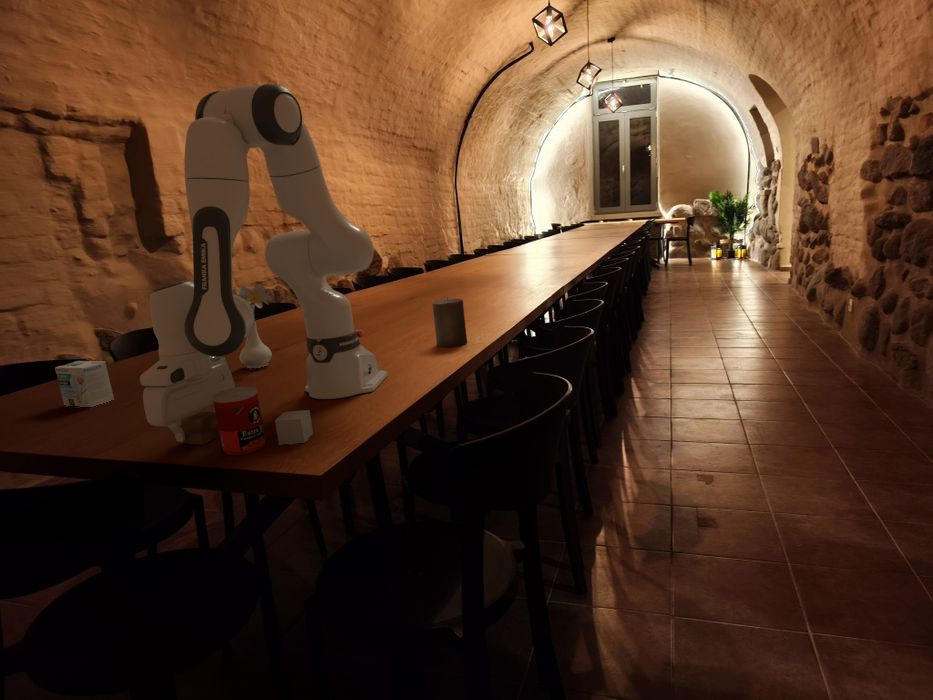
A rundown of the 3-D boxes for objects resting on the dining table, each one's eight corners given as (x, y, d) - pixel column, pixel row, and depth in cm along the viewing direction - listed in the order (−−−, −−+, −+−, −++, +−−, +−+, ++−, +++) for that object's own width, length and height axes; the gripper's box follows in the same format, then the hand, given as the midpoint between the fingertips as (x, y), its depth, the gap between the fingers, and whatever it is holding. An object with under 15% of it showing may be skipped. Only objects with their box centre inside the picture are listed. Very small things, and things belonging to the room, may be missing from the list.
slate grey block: (288, 435, 115) (284, 411, 114) (313, 433, 115) (309, 410, 113) (279, 445, 110) (274, 420, 109) (304, 443, 110) (300, 418, 109)
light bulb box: (63, 407, 151) (53, 367, 149) (88, 398, 157) (78, 360, 155) (91, 408, 147) (81, 367, 145) (115, 400, 153) (106, 360, 151)
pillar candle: (472, 343, 182) (468, 295, 179) (445, 348, 177) (440, 300, 174) (457, 339, 190) (453, 293, 187) (431, 344, 185) (426, 298, 182)
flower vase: (242, 362, 185) (227, 283, 179) (293, 360, 180) (280, 280, 174) (215, 373, 173) (198, 289, 167) (269, 372, 168) (254, 286, 162)
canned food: (247, 457, 105) (236, 400, 103) (213, 454, 108) (202, 398, 106) (275, 441, 112) (265, 387, 110) (242, 438, 115) (232, 385, 113)
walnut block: (201, 434, 120) (196, 411, 119) (220, 435, 119) (216, 412, 118) (182, 443, 116) (177, 420, 115) (203, 444, 114) (198, 420, 113)
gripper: (211, 352, 124) (223, 413, 127) (131, 380, 105) (147, 450, 109) (235, 351, 122) (247, 413, 125) (158, 380, 103) (174, 452, 107)
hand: (200, 431), depth 117 cm, fingers open, 8 cm apart
